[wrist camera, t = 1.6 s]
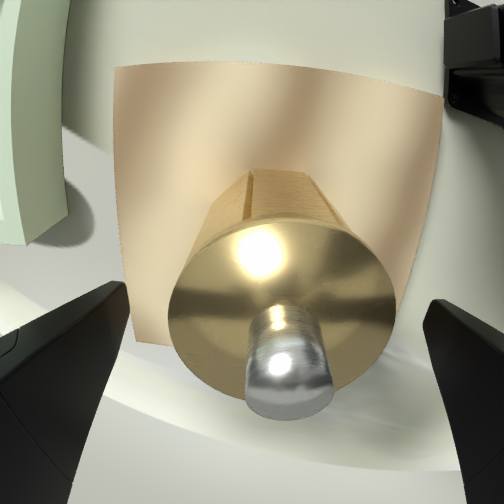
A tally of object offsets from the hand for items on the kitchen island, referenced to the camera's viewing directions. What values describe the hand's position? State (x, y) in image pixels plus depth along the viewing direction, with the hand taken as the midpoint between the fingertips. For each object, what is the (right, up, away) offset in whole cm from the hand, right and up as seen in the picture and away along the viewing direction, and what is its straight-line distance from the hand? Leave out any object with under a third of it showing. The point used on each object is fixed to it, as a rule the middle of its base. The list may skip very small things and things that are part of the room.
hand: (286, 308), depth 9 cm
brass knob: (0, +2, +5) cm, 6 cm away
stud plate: (0, +3, +6) cm, 7 cm away
